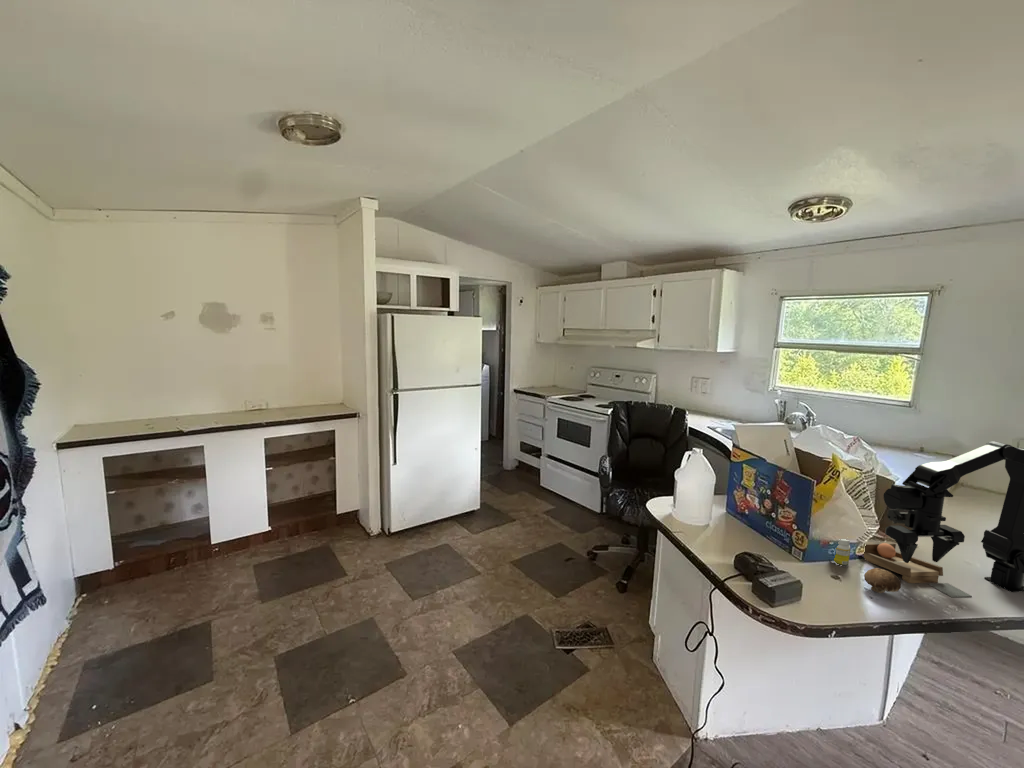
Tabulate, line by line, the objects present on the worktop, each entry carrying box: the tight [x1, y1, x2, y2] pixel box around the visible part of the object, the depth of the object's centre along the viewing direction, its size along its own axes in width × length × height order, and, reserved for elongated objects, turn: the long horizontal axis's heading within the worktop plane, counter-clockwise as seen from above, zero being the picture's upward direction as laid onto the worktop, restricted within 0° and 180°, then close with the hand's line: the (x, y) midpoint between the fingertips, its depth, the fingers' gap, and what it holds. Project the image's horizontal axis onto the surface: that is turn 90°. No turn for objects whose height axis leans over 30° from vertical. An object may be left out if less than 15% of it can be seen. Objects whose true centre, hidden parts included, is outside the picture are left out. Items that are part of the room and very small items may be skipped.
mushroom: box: [863, 567, 902, 594], centre depth 116 cm, size 8×8×6 cm
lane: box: [864, 541, 944, 584], centre depth 129 cm, size 11×16×5 cm
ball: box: [877, 543, 897, 558], centre depth 133 cm, size 4×4×4 cm
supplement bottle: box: [834, 539, 851, 567], centre depth 131 cm, size 5×5×8 cm
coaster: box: [927, 582, 973, 598], centre depth 118 cm, size 6×6×1 cm
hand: (920, 561), depth 123 cm, fingers open, 9 cm apart
